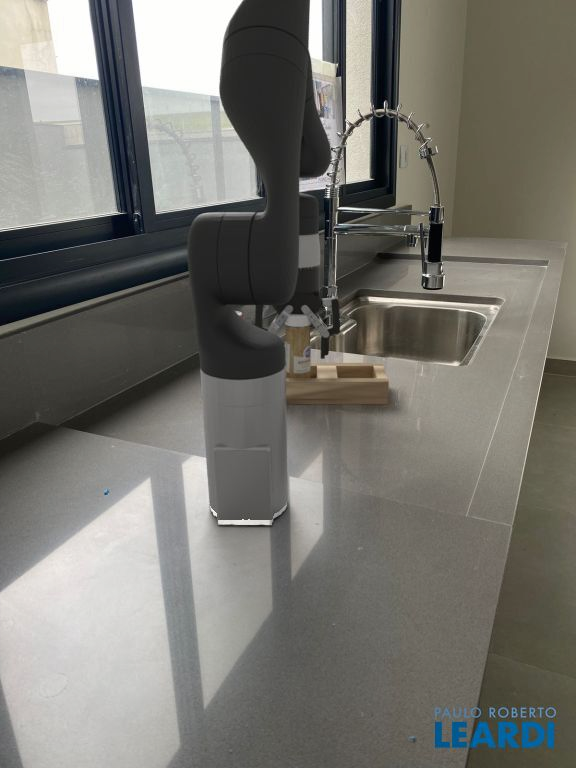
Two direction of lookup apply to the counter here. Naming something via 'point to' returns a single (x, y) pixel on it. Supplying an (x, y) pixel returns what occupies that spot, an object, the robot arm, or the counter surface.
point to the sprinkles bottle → (298, 346)
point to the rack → (340, 384)
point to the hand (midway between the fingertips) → (297, 357)
